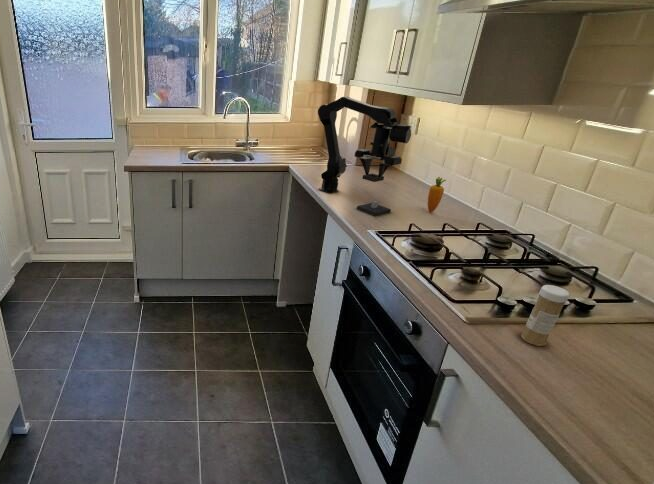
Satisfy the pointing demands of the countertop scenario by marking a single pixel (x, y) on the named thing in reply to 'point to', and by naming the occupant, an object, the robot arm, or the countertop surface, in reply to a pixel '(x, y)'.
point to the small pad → (372, 177)
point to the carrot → (435, 195)
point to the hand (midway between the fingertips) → (373, 176)
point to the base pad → (373, 208)
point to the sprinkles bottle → (544, 314)
